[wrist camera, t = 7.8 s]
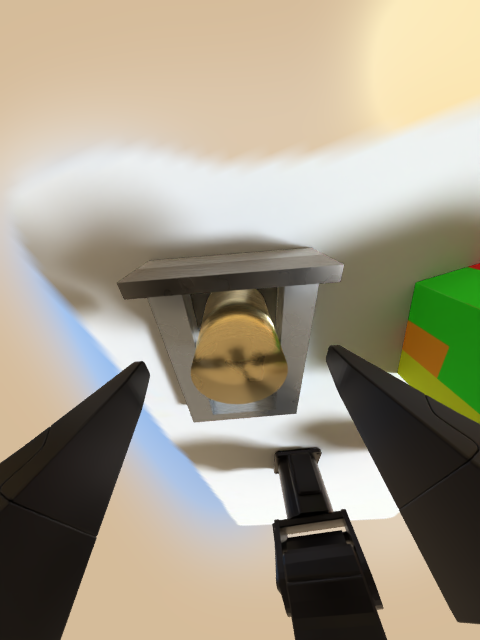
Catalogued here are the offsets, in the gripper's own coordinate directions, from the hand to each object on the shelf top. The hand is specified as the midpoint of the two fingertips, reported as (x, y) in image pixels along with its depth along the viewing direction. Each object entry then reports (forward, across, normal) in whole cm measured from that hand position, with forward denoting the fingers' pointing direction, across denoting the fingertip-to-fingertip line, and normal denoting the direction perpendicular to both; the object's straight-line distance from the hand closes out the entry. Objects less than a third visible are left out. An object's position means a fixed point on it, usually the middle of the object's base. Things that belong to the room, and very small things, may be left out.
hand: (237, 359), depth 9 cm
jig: (+5, 0, +4) cm, 6 cm away
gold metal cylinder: (+5, 0, 0) cm, 5 cm away
